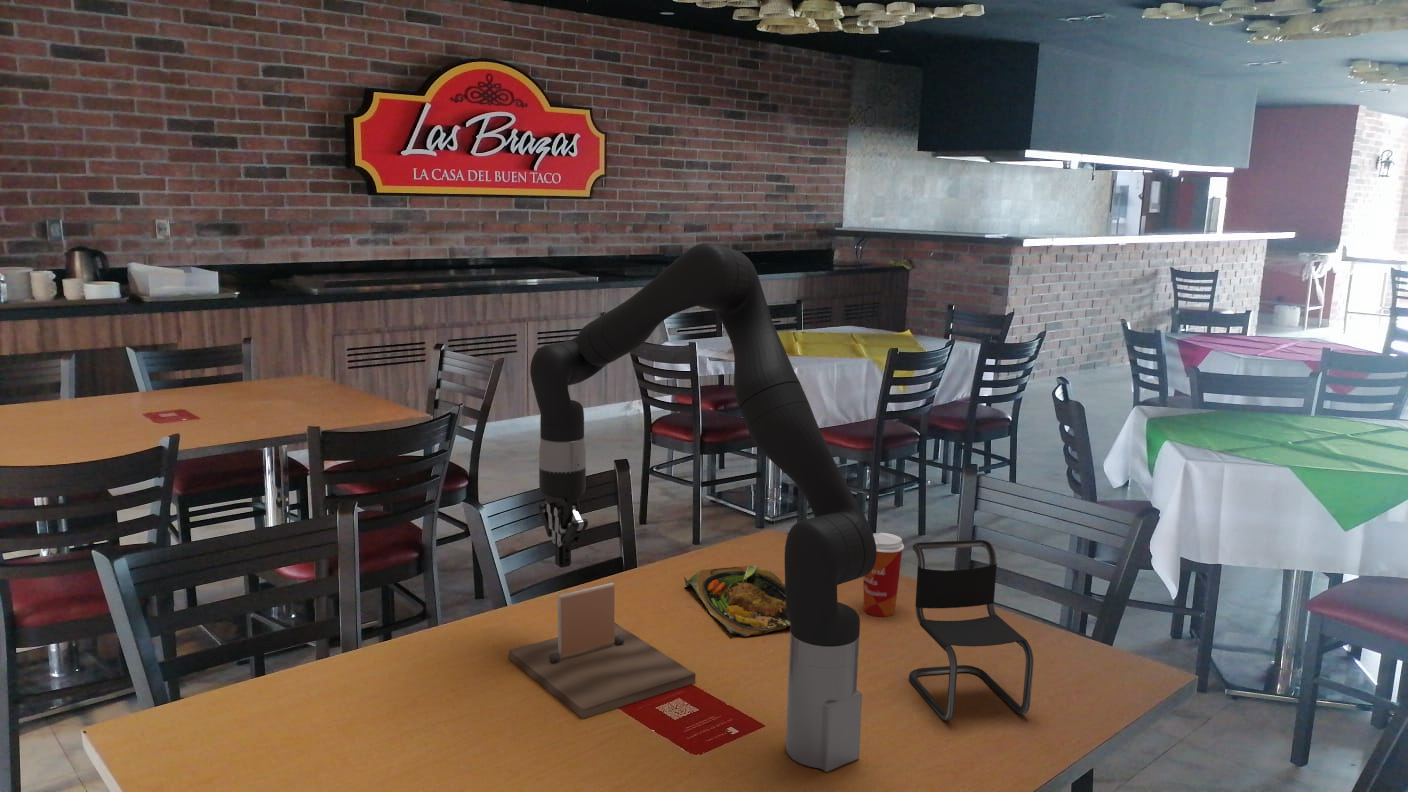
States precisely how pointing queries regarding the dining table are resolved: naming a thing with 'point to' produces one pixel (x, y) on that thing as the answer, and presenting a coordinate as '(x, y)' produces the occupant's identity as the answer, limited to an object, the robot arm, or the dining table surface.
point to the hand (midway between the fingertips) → (562, 565)
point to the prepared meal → (742, 598)
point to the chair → (964, 622)
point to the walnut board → (602, 672)
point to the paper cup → (883, 576)
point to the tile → (586, 619)
